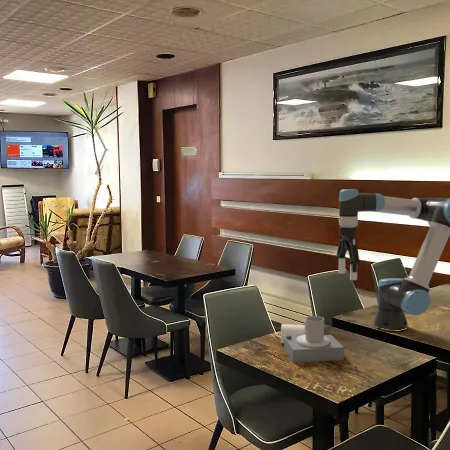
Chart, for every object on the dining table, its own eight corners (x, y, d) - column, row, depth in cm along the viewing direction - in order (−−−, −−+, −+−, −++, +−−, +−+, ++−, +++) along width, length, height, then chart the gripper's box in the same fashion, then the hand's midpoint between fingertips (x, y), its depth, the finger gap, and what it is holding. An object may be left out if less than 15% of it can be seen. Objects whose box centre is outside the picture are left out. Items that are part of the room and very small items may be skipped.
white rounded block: (304, 347, 203) (304, 328, 202) (280, 345, 205) (280, 327, 204) (305, 337, 215) (305, 320, 214) (283, 336, 217) (283, 319, 216)
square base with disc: (330, 346, 203) (331, 332, 203) (343, 359, 188) (343, 344, 188) (284, 348, 201) (284, 334, 201) (293, 362, 186) (293, 347, 186)
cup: (312, 344, 188) (312, 322, 187) (298, 337, 197) (298, 315, 196) (327, 341, 191) (328, 319, 191) (312, 334, 200) (312, 313, 200)
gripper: (329, 223, 215) (329, 271, 217) (350, 229, 190) (349, 283, 192) (346, 223, 215) (345, 270, 218) (368, 229, 191) (367, 282, 193)
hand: (347, 276), depth 205 cm, fingers open, 13 cm apart
